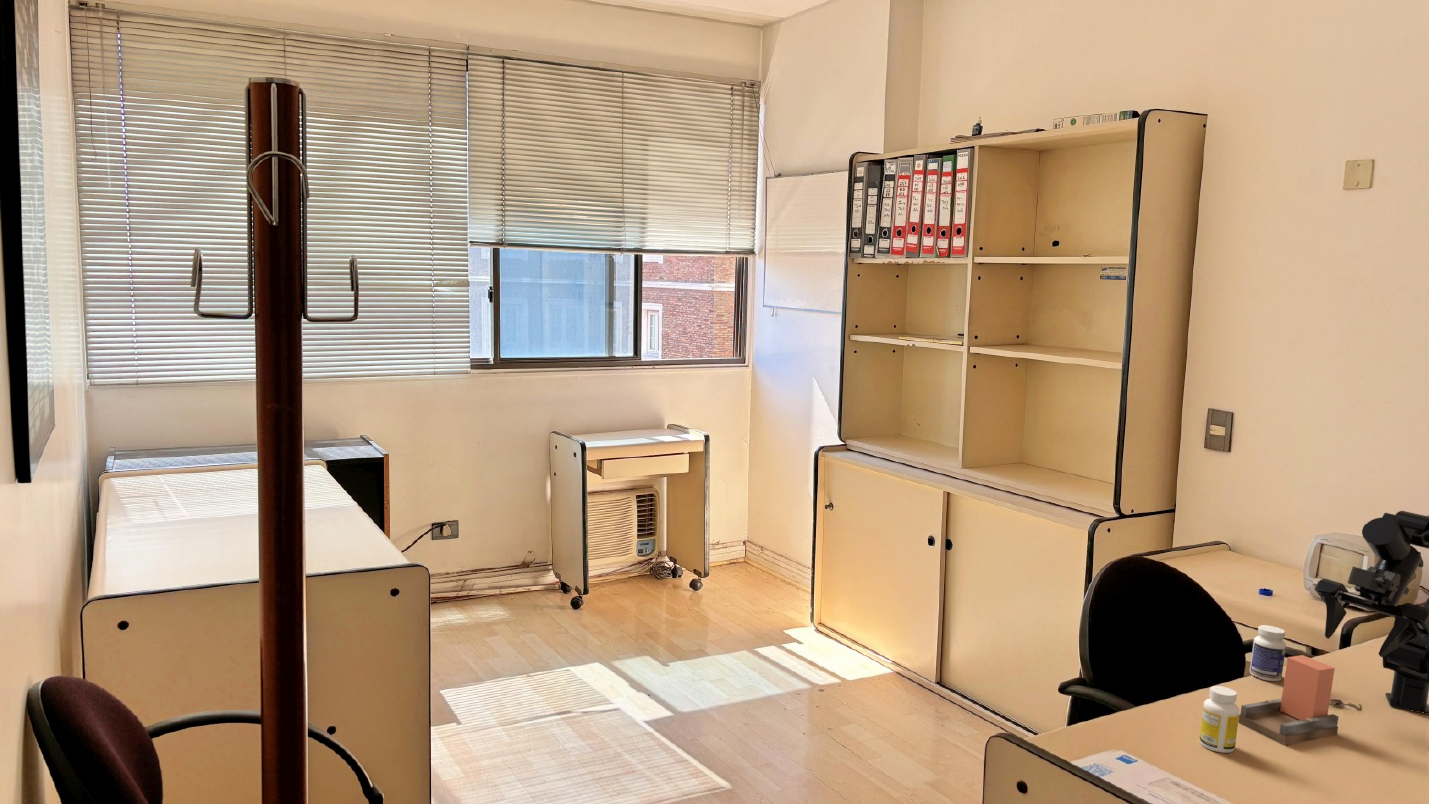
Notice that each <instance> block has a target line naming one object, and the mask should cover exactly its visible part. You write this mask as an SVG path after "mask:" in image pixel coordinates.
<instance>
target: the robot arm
mask: <svg viewBox="0 0 1429 804" xmlns="http://www.w3.org/2000/svg"><path fill="white" fill-rule="evenodd" d="M1361 529H1362V530H1361V534H1362V537H1363V539H1364V541H1365V542H1366V543H1367V545H1368V547H1369V549H1371V551H1372V552H1373V554H1374V555H1375V556H1376V558H1378V560H1377V561H1376V563H1375V565H1374V566H1369V567H1367V569H1364V568H1361V567H1360V568H1359V567H1357V566H1352V567H1351V571H1350V573H1349V574H1350V575H1349V577H1348V580H1347V584H1348V585H1351V586H1352V585H1353V586H1354V587H1353V588H1354V590H1355V591H1356V592H1358V593H1359V594H1355V593H1353V592H1349V591H1348V589H1347V587H1346V585H1344V583H1341V582H1338V581H1335V580H1332V579H1328V578H1322V579H1320V580H1318V581H1317V583H1316V584H1315V586H1314V591H1315V592H1316V593H1317V595H1318V596H1319V597H1320V599H1321V601H1323V603H1324V604H1325V607H1326V615H1325V616H1326V618H1325V631H1324V637H1325V638H1326V639H1327V640H1328V639H1330V638H1331V637H1333V635H1334V633H1335V632H1336V631H1337V629H1338V627H1339V625H1340V624H1341V623H1342V621H1343V619H1344V618H1345V616H1346V614H1348V613H1347V611H1346V609H1347V608H1349V606H1350V605H1353V606H1357V607H1360V608H1363V609H1367V610H1370V611H1372V612H1377V613H1379V614H1383V615H1386V616H1389V617H1392V618H1394V622H1393V626H1392V628H1391V630H1390V631H1389V633H1388V635H1387V637H1386V638H1385V639H1384V641H1383V643H1382V645H1381V647H1380V649H1379V652H1378V655H1379V658H1380V657H1381V658H1382V667H1383V669H1386V670H1391V671H1393V679H1392V684H1391V690H1390V692H1385V697H1386V700H1387V702H1388V705H1389V706H1390V707H1392V708H1396V709H1397V708H1398V709H1403V710H1406V711H1411V710H1413V711H1412V712H1416V711H1419V712H1418V713H1420V712H1424V713H1423V714H1425V713H1429V704H1428V700H1429V597H1428V598H1427V599H1426V601H1425V602H1424V604H1423V605H1422V606H1419V605H1416V604H1413V603H1409V602H1406V603H1403V604H1402V606H1401V607H1399V606H1398V604H1399V603H1400V601H1401V599H1402V597H1403V595H1406V596H1407V595H1408V594H1409V592H1410V589H1409V587H1408V586H1409V584H1410V582H1411V580H1412V579H1413V576H1415V573H1416V571H1417V569H1418V568H1423V567H1424V560H1423V558H1422V553H1421V551H1418V549H1417V548H1416V547H1418V548H1419V547H1420V548H1423V549H1427V550H1429V515H1423V514H1419V513H1414V512H1410V511H1405V510H1400V511H1397V512H1396V513H1394V514H1393V513H1389V512H1384V513H1383V515H1382V517H1375V518H1374V519H1371V520H1369V521H1368V522H1366V523H1364V524H1363V526H1362V528H1361ZM1414 546H1415V547H1414Z"/></svg>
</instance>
